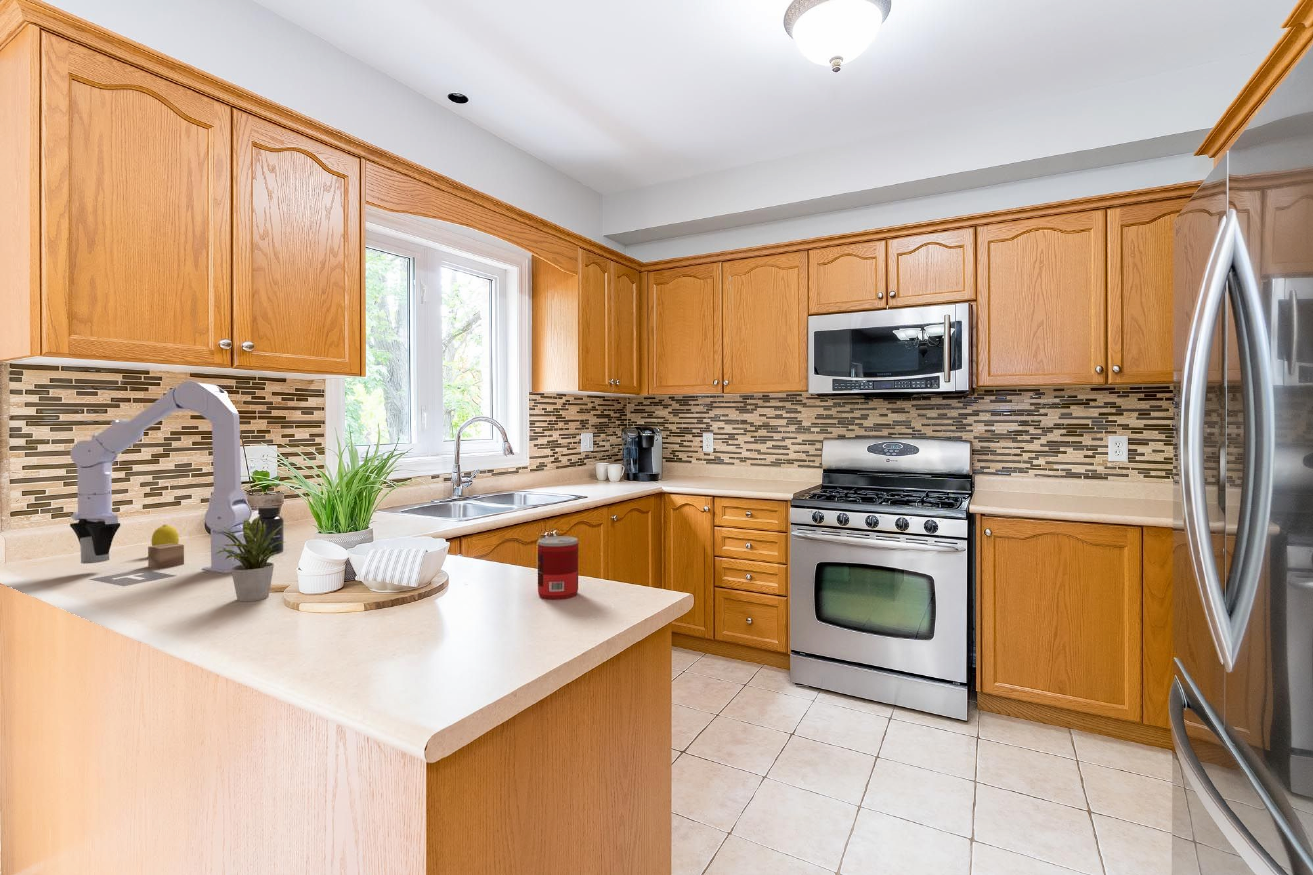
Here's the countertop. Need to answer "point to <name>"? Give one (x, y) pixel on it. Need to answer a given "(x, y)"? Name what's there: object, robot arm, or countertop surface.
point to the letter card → (132, 577)
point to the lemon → (165, 536)
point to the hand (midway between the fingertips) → (95, 553)
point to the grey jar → (90, 552)
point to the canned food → (557, 567)
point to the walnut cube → (165, 555)
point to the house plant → (251, 562)
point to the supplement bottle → (272, 527)
